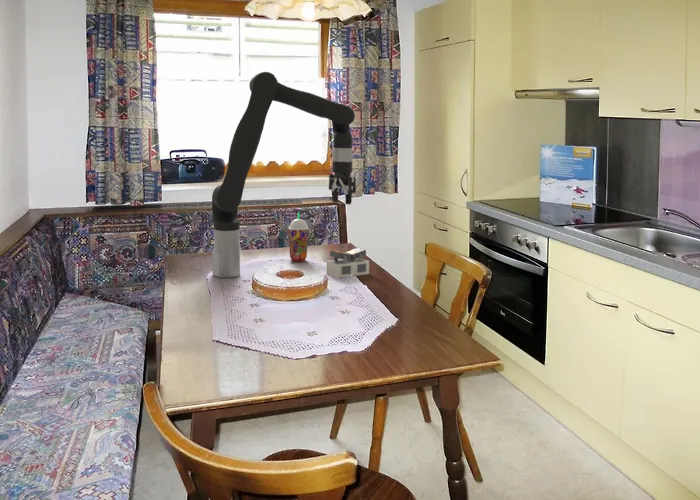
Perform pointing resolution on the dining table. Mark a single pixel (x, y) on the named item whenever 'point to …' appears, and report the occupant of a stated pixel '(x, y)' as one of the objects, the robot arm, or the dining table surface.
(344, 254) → the rocker
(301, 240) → the smoothie
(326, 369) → the dining table surface
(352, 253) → the rocker
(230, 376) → the dining table surface
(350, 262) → the rocker switch box
